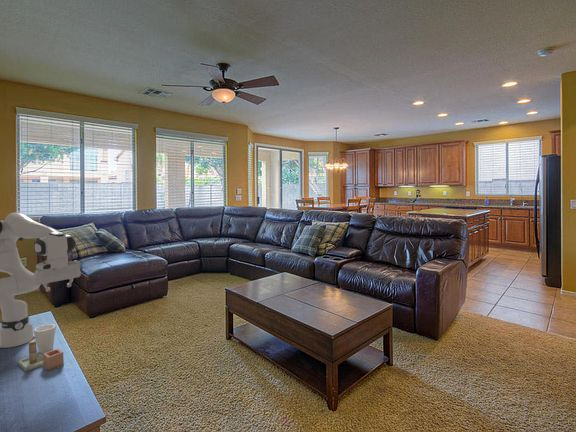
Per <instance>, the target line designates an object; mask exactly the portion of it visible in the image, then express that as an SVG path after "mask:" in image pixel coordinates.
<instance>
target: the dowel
mask: <svg viewBox="0 0 576 432" xmlns="http://www.w3.org/2000/svg"><path fill="white" fill-rule="evenodd" d="M37 352H38V348H37V342H36V339H34V340H31V341H29V342H28V357H29V362H30V364H35V363H36V362H37V354H38V353H37Z"/></svg>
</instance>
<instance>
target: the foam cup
mask: <svg viewBox="0 0 576 432" xmlns="http://www.w3.org/2000/svg"><path fill="white" fill-rule="evenodd" d="M56 329H57V328H56V324H54V323H47V324H43V325H39V326H37V327H35V328H33V333H34V335H35V337H34V338H35V341H36V348H37V352H38V353H40V354H43V353H46V352H49V351H52V350H54V345H55V344H54V343H55V335H56Z"/></svg>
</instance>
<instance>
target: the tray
mask: <svg viewBox="0 0 576 432" xmlns="http://www.w3.org/2000/svg"><path fill="white" fill-rule="evenodd" d="M17 364H18V365H19V366H20V367H21V368H22V369H23V370H24V371H25V372H26V373H28V372H30V371H33V370H34V369H37V368H39V367H40V368H41V367H44V363H43V354H42V353H39V352H38V353H37V362H36V363H35V364H30V362H29V356H28V357H24V358H21V359H19V360H17Z"/></svg>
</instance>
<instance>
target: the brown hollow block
mask: <svg viewBox="0 0 576 432" xmlns="http://www.w3.org/2000/svg"><path fill="white" fill-rule="evenodd" d="M42 356H43V363H44V365H43V368H44V369H46V371H48V372H50V371H53V370H56V369H58V368H60V367H64V366H65V365H64V364H65V361H64V351H62V350H61V349H59V348H55V349H53V350H51V351H49V352H46V353H42Z"/></svg>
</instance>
